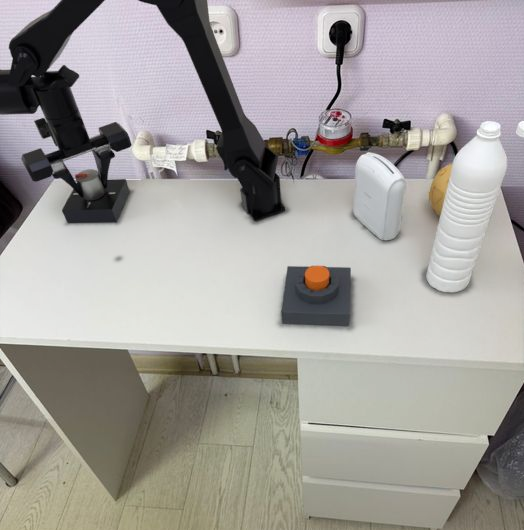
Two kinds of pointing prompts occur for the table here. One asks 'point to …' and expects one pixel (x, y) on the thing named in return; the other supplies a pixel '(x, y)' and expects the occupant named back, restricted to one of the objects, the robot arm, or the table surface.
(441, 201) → the stress ball
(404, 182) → the photo printer
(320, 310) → the box
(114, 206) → the panel
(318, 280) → the button
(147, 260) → the table surface
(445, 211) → the water bottle
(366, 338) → the table surface
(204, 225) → the table surface
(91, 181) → the dial
